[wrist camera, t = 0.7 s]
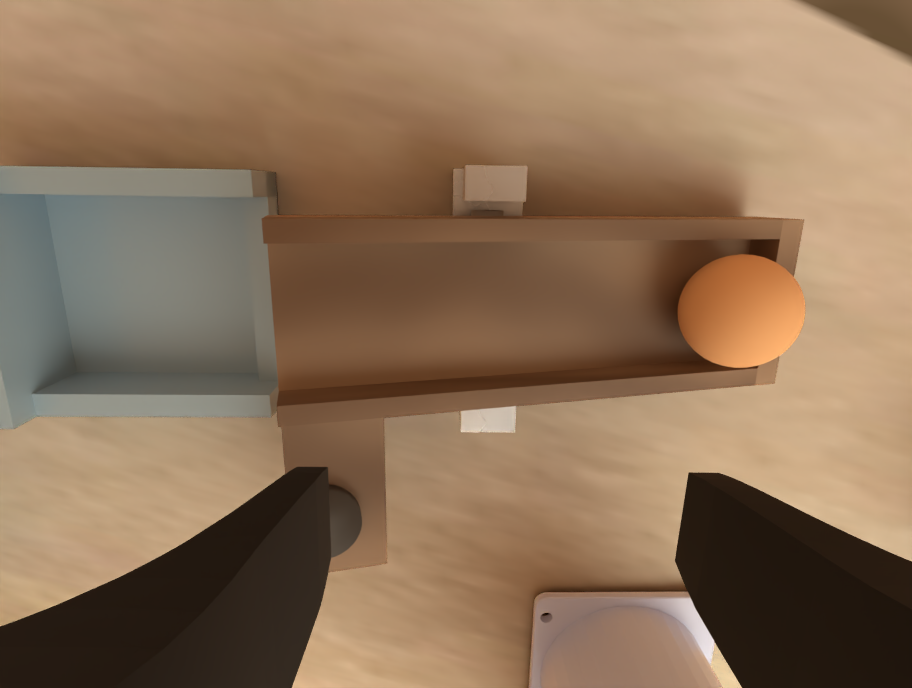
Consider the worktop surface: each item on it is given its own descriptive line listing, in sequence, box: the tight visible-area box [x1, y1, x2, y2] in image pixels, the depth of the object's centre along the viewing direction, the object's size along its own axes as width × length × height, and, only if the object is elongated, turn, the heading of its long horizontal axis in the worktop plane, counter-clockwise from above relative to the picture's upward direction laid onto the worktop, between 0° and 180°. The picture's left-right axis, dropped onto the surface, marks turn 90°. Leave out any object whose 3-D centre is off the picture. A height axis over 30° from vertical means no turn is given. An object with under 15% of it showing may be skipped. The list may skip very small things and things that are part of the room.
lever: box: [262, 210, 804, 572], centre depth 18 cm, size 11×16×3 cm
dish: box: [0, 166, 279, 429], centre depth 18 cm, size 8×9×4 cm
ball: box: [677, 254, 805, 368], centre depth 17 cm, size 4×4×4 cm
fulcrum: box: [453, 165, 528, 432], centre depth 18 cm, size 8×2×3 cm, turn 179°
